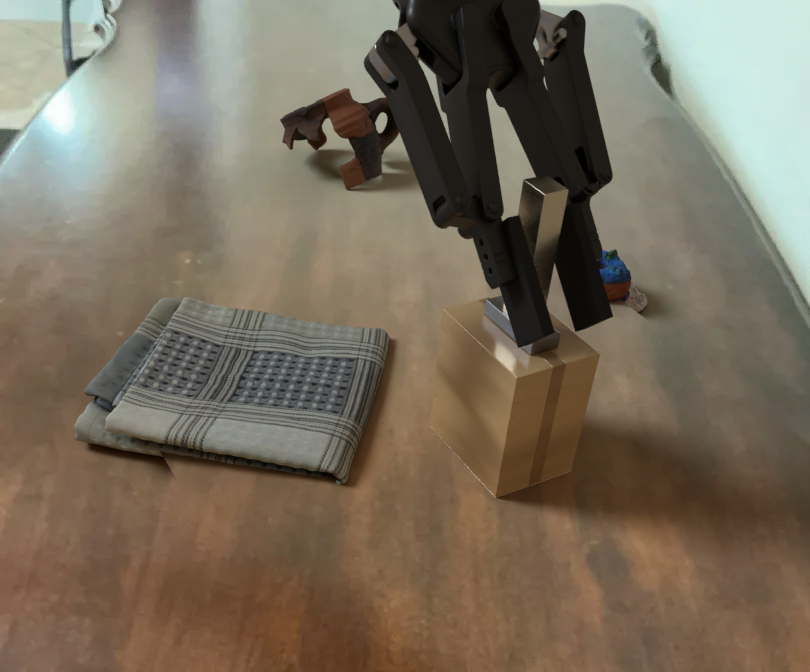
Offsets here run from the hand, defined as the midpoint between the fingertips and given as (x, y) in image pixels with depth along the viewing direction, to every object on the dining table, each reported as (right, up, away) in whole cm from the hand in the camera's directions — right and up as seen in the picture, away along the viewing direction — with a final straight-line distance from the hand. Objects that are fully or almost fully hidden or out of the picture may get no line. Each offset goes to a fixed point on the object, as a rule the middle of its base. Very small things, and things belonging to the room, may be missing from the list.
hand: (565, 331), depth 54 cm
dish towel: (-20, -2, +14) cm, 25 cm away
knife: (-3, -6, +10) cm, 12 cm away
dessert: (+7, +9, +27) cm, 29 cm away
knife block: (-3, -6, +11) cm, 13 cm away
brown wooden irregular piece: (-15, +25, +42) cm, 51 cm away
